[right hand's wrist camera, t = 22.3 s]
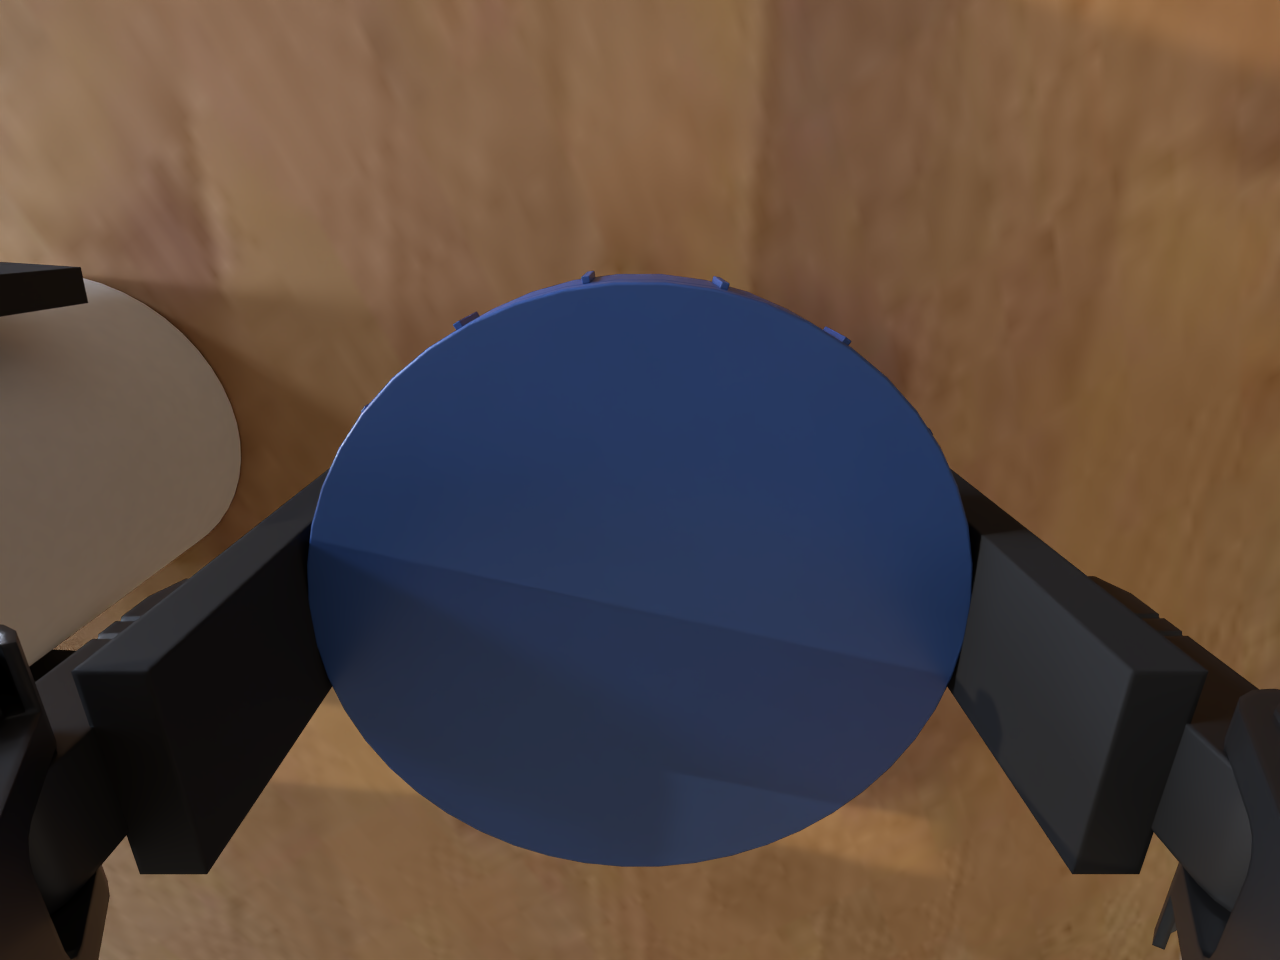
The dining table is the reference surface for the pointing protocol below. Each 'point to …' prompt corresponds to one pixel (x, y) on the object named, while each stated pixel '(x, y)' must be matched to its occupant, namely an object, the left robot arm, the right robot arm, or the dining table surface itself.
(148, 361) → the jar
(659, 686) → the lid
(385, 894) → the dining table surface
